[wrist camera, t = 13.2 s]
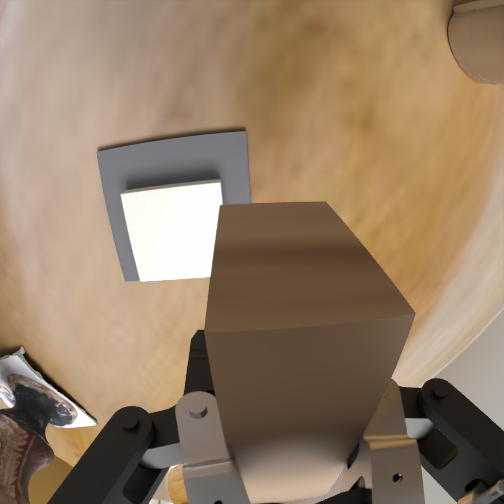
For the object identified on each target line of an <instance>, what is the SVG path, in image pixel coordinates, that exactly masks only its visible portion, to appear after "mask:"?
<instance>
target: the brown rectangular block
mask: <svg viewBox="0 0 504 504" xmlns="http://www.w3.org/2000/svg"><path fill="white" fill-rule="evenodd" d="M415 314H416V313H415V312H414V310H413V309H412V308H411V306H410V305H409V304H408V302H407V301H406V299H405V298H404V297H403V295H402V294H401V293H400V291H399V290H398V289H397V287H396V286H395V285H394V283H393V282H392V281H391V280H390V278H389V277H388V276H387V274H386V273H385V272H384V271H383V269H382V268H381V267H380V265H379V264H378V263H377V262H376V260H375V259H374V258H373V257H372V255H371V254H370V253H369V252H368V250H367V249H366V248H365V247H364V246H363V244H362V243H361V242H360V241H359V240H358V238H357V237H356V236H355V235H354V234H353V232H352V231H351V230H350V229H349V228H348V226H347V225H346V224H345V223H344V222H343V221H342V219H341V218H340V217H339V216H338V215H337V214H336V213H335V211H334V210H333V209H332V208H331V207H330V206H329V205H328V203H327V202H281V203H252V204H229V205H220V207H219V214H218V221H217V228H216V236H215V244H214V251H213V259H212V267H211V276H210V284H209V293H208V301H207V311H206V320H205V329H204V335H205V341H206V347H207V352H208V358H209V364H210V369H211V375H212V380H213V386H214V391H215V396H216V401H217V406H218V411H219V416H220V421H221V426H222V430H223V435H224V439H225V444H226V445H231V446H232V450H233V453H234V456H235V458H236V461H237V463H238V466H239V470H240V473H241V476H242V479H243V482H244V485H245V488H246V491H247V494H248V497H249V500H250V503H251V504H257V503H271V502H282V501H291V500H299V499H306V498H313V497H319V496H325V495H326V494H327V493H328V491H329V490H330V488H331V487H332V486H333V484H334V483H335V481H336V479H337V478H338V476H339V475H340V473H341V472H342V470H343V468H344V463H345V461H346V459H348V458H350V457H351V455H352V454H353V452H354V450H355V448H356V447H357V445H358V443H359V436H360V434H361V432H362V430H363V429H365V428H367V427H368V425H369V423H370V421H371V419H372V417H373V415H374V413H375V411H376V409H377V407H378V405H379V403H380V401H381V399H382V397H383V395H384V392H385V390H386V388H387V386H388V384H389V381H390V379H391V377H392V374H393V372H394V370H395V367H396V365H397V363H398V360H399V358H400V355H401V353H402V350H403V348H404V345H405V342H406V340H407V337H408V334H409V331H410V329H411V326H412V323H413V320H414V317H415Z"/></svg>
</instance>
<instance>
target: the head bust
mask: <svg viewBox="0 0 504 504" xmlns="http://www.w3.org/2000/svg"><path fill="white" fill-rule="evenodd" d="M24 353H25V352H24V349H23V346H22V347H21V349H20V350H19V351H17V352H16V353H14V354H12V355H9V356H8V355H6V356H5V355H4V357H1V358H0V398H1V399H2V400H3V401H4V402H5V403H6V404H7V405H8V406H9V407H10V408H8V409H1V410H0V442H1V447H0V504H30V502H29V497H28V485H29V480H30V478H31V476H32V474H33V473H34V472H36V471H38V470H40V469H43V468H45V467H47V466H48V465H50V464H51V463H52V461H53V459H54V452H53V450H52V448H51V447H50V445H49V443H48V441H47V439H46V436H45V429H46V426H47V424H48V423H50V424H53V426H55V427H60V428H61V427H65V428H74V427H82V426H93V425H98V424H97V421H96V420H94V419H93V418H91V417H90V416H89V415H87V414H86V412H85V411H84V410H82V409H80V408H79V407H78V406H76V404H74V403H73V402H71V401H70V400H69V399H68V398H66V397H65V396H64V395H63V394H62V393H60V392H58V391H57V390H56V389H54V387H52V386H51V384H48V383H47V382H46V381H45V380H44V379H43V378H42V376H41V374H40V373H39V372H37V371H34V370H33V368H32V367H31V366H30V365H29V364H28V362H27V361H26V360H25V358H24V357H23V355H22V354H24Z"/></svg>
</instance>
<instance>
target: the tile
mask: <svg viewBox="0 0 504 504" xmlns="http://www.w3.org/2000/svg"><path fill="white" fill-rule="evenodd" d="M121 199H122V205H123V210H124V215H125V219H126V224H127V229H128V233H129V238H130V242H131V246H132V250H133V255H134V259H135V263H136V266H137V270H138V274H139V278H140V282H142V281H157V280H171V279H185V278H199V277H210V276H211V267H212V259H213V251H214V244H215V236H216V228H217V221H218V214H219V207H220V205H223V196H222V185H221V179H214V180H204V181H194V182H185V183H176V184H168V185H160V186H152V187H145V188H137V189H130V190H125V191H124V192H123V193H122V194H121Z"/></svg>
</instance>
